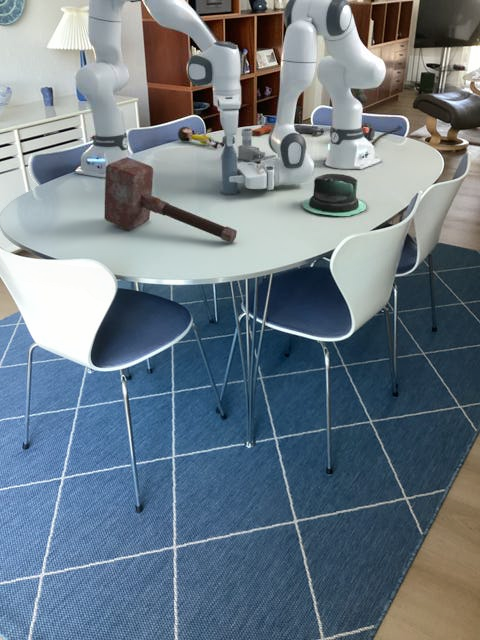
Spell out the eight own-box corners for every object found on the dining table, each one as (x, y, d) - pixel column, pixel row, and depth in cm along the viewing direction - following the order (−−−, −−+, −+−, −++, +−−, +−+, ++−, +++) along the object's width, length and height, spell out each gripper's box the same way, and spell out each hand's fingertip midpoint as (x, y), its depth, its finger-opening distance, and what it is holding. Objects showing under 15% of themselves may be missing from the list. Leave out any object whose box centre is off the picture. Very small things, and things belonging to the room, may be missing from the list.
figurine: (211, 139, 238) (170, 125, 250) (210, 157, 242) (170, 142, 255) (230, 134, 247) (190, 120, 259) (229, 150, 251) (189, 136, 263)
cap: (236, 144, 181) (236, 138, 180) (224, 145, 180) (223, 138, 179) (233, 141, 184) (233, 135, 183) (221, 142, 183) (221, 136, 182)
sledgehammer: (247, 201, 148) (125, 155, 160) (230, 213, 141) (104, 163, 152) (236, 257, 158) (122, 210, 170) (220, 270, 151) (102, 220, 162)
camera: (247, 126, 226) (276, 132, 217) (247, 155, 232) (275, 162, 223) (233, 130, 220) (262, 135, 212) (233, 160, 226) (261, 166, 218)
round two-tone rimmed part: (371, 195, 181) (367, 217, 164) (320, 217, 189) (311, 241, 173) (352, 153, 175) (346, 172, 159) (300, 178, 184) (289, 199, 168)
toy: (345, 120, 249) (377, 123, 242) (343, 139, 253) (375, 143, 246) (337, 123, 243) (369, 127, 236) (336, 143, 247) (367, 147, 240)
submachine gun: (243, 132, 260) (267, 122, 278) (243, 138, 261) (267, 127, 280) (305, 138, 246) (326, 127, 265) (305, 144, 248) (326, 133, 266)
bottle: (226, 195, 187) (224, 141, 178) (220, 191, 191) (218, 138, 182) (240, 193, 189) (239, 139, 180) (233, 188, 193) (232, 136, 184)
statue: (367, 132, 266) (374, 63, 251) (349, 133, 264) (355, 64, 249) (357, 127, 275) (362, 61, 260) (339, 129, 273) (344, 62, 258)
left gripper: (214, 94, 184) (216, 137, 191) (220, 104, 166) (221, 151, 173) (233, 93, 184) (234, 136, 191) (240, 103, 167) (241, 150, 174)
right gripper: (259, 156, 197) (221, 159, 195) (274, 171, 180) (232, 175, 177) (259, 174, 200) (222, 177, 198) (274, 191, 183) (232, 194, 181)
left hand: (228, 143), depth 182 cm, fingers open, 4 cm apart
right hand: (227, 176), depth 187 cm, fingers closed on bottle, 5 cm apart
